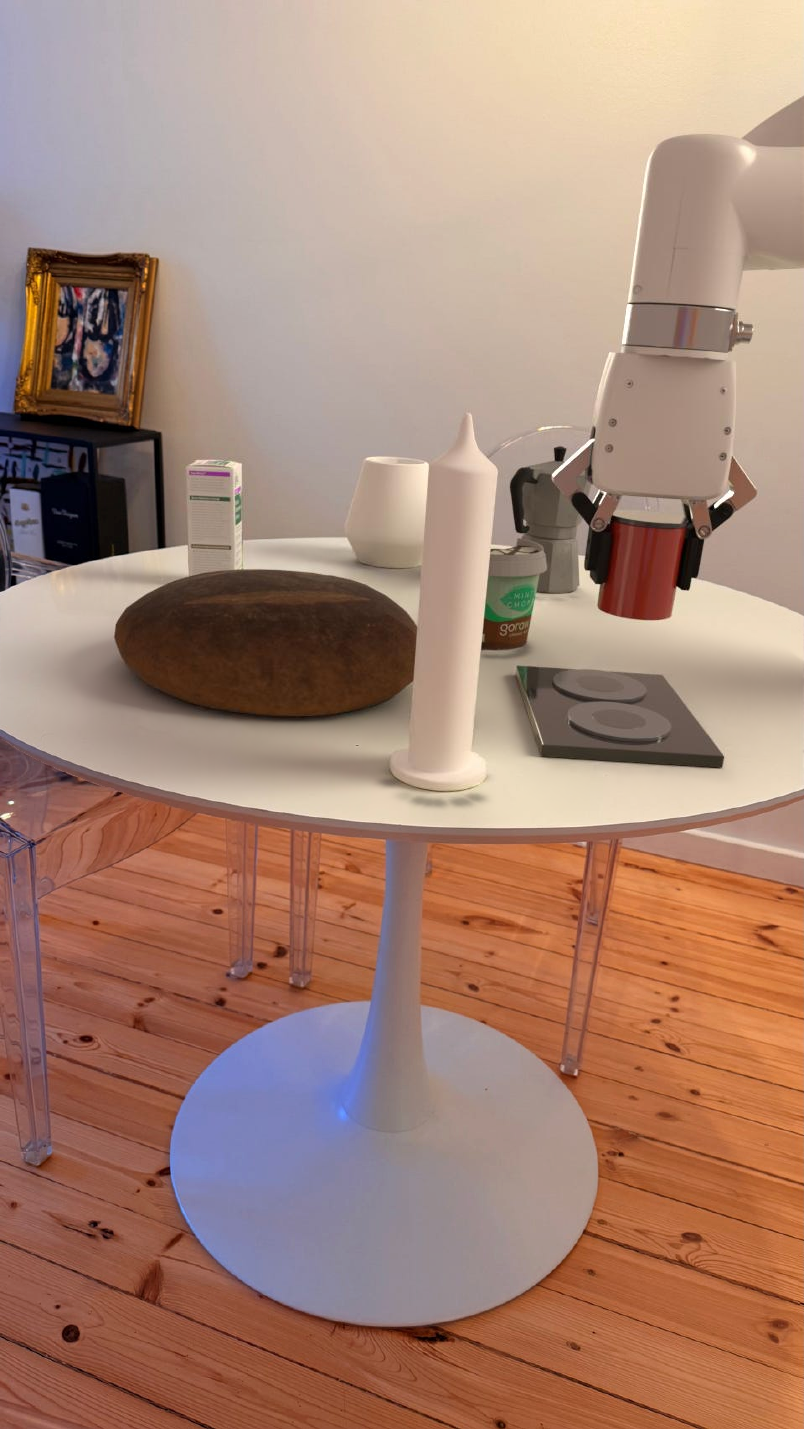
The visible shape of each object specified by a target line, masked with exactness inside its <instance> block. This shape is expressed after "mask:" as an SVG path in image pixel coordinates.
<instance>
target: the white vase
mask: <svg viewBox="0 0 804 1429" xmlns="http://www.w3.org/2000/svg"><path fill="white" fill-rule="evenodd" d="M429 465H430V464H429V463H428V462H427V461H425V460H422V459H417V458H411V457H400V456H399V457H398V456H369V457H366V458H364V459H363V463H362V466H361V468H360V469H361V470H360V472H359V476H358V479H357V482H356V486H355V489H354V492H353V496H352V500H351V502H350V506H349V510H348V513H347V517H346V520H345V523H344V534H345V537H346V539H347V541H348V542H349V545H350V546H351V548H352V550H353V552H354V554H355V556H356V558H357V560H358V562H360V563H362V564H363V565H368V566H372V567H376V568H377V567H378V568H386V569H411V568H412V569H413V568H416V567H421V566H422V555H423V541H424V527H425V513H426V499H427V485H428V471H429Z"/></svg>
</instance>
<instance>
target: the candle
mask: <svg viewBox="0 0 804 1429" xmlns="http://www.w3.org/2000/svg"><path fill="white" fill-rule="evenodd" d="M461 419H462V420H461V422H460V426H459V430H458V433H457V436H456V438H455V439H454V442H453V444H452V445H451V447H450V448H448V449H447V450H445V451H444V452H443V453H441V455H439V456H438V457H436V458H435V459H434V460H432V461H431V462H430V463H429V464H428V465H429V471H428V485H427V499H426V513H425V527H424V541H423V555H422V564H421V570H420V571H421V572H420V586H419V599H418V610H417V612H418V614H417V624H416V626H417V639H416V653H415V667H414V681H412V697H411V712H410V722H409V723H410V725H409V738H408V739H409V740H408V745H406V746H404V747H401V748H399V749H397V750H395V751H394V753H392V754H391V756H390V759H389V770H390V773H391V774H392V775H393V776H394V777H395V778H396V779H398V780H399V781H400V782H403V783H404V784H407V785H409V786H412V787H414V788H415V787H416V788H418V789H423V790H429V791H437V792H438V791H439V792H451V791H452V792H455V791H463V790H467V789H472V788H474V787H476V786H478V785H481V783H483V782H484V781H485V780H486V778H487V775H488V764H487V762H486V760H485V759H484V758H483V757H482V756H481V755H480V754H478V753H476V752H475V751H472V749H473V748H472V747H473V736H474V726H475V717H476V705H477V694H478V684H479V672H480V664H481V652H482V649H481V643H482V633H483V623H484V612H485V602H486V591H487V581H488V570H489V560H490V549H492V540H493V539H492V538H493V537H492V536H493V527H494V526H493V525H494V516H495V508H496V507H495V505H496V495H497V484H498V476H499V475H498V474H499V470H498V468H497V466H496V465H495V464H494V463H493V462H492V461H490V459H489V458H488V457H486V455H485V454H484V453H483V452H482V451H481V450H480V449H479V446H478V444H477V441H476V436H475V430H474V423H473V422H474V420H473V415H472V413H470V412H466V413H464V414H463V416H462V418H461Z"/></svg>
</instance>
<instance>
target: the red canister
mask: <svg viewBox="0 0 804 1429" xmlns="http://www.w3.org/2000/svg"><path fill="white" fill-rule="evenodd" d="M608 523H609V530H608V531H609V532H610V533H611V534H612V541H611V548H610V555H609V562H608V569H607V576H606V582H605V583H603V584H602V585H601V584H599V589H598V596H597V603H596V607H597V609H598V610H599V611H601V612H603V613H605V614H607V615H611V616H615V617H617V618H618V617H619V618H624V619H629V620H637V621H662V620H668V619H670V618H671V617H672V616H673V611H674V606H675V600H676V595H677V594H676V593H677V588H678V587H677V582H678V577H679V571H680V565H681V559H682V553H683V547H684V541H685V535H686V529H687V527H688V525H689V520H688V519H686V518H685V516H681V515H677V514H673V513H667V512H661V511H660V512H659V511H652V510H642V509H641V510H640V509H615V511H614V513H613V515H612V517H611V519H610V521H609V522H608Z"/></svg>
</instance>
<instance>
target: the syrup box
mask: <svg viewBox="0 0 804 1429" xmlns="http://www.w3.org/2000/svg"><path fill="white" fill-rule="evenodd" d="M185 488H186V489H185V490H186V491H185V492H186V528H187V564H188V565H187V566H188V576H192V575H197V574H201V573H206V572H214V571H223V570H241V569H244V553H243V551H244V540H243V539H244V536H243V534H244V533H243V532H244V530H243V529H244V528H243V527H244V526H243V523H244V522H243V464H242V462H239V461H236V460H235V461H234V460H228V459H227V460H226V459H196V460H195V461H194V462H192V463H190V464H188V465H187V464H186V466H185Z"/></svg>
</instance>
